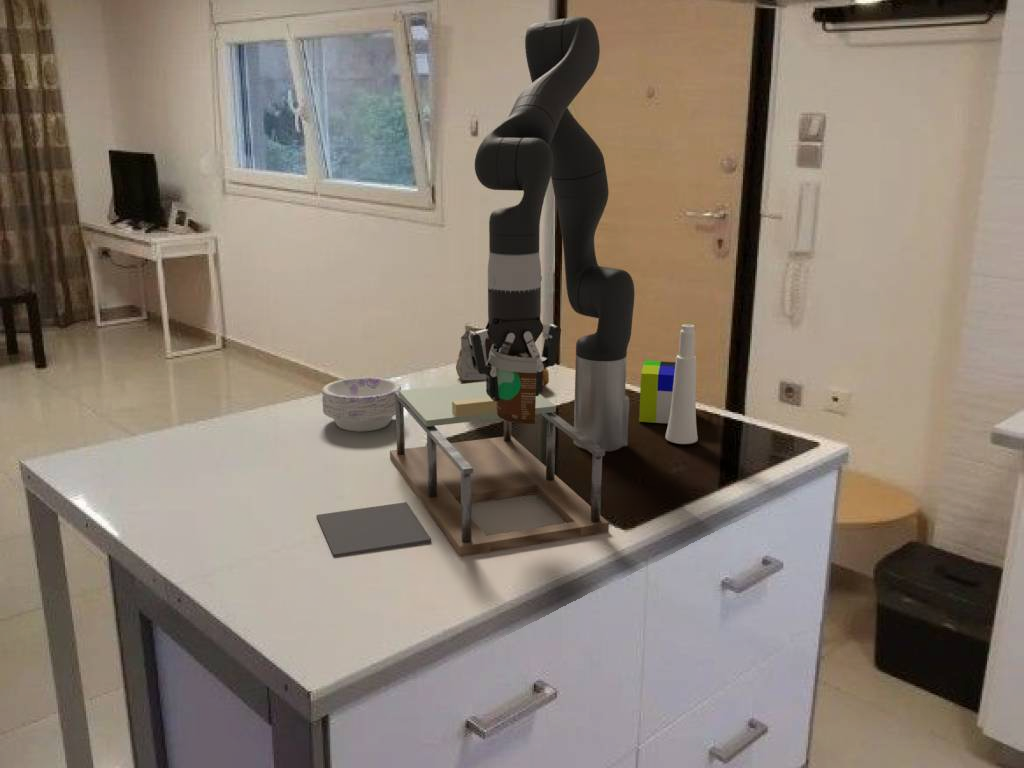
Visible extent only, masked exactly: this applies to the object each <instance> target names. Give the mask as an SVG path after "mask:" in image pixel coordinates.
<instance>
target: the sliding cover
mask: <svg viewBox="0 0 1024 768" xmlns="http://www.w3.org/2000/svg"><path fill="white" fill-rule="evenodd" d="M399 397H400V398H401V399H402V400H403V401H404V402H405V403H406V405H407V406H408V407H409V408H410V409H411V410H412V411H413V412H414V414H415V415H416V416H417V417H418V418H419V419H420V420H421V421H422V423H423V424H424V425H425V426H426V427H429V426H435V427H436V426H444V425H453V424H462V423H470V422H478V421H479V422H480V421H487V420H496V419H501V418H500V417H499V416H498V415H497V403H496V401H493V400H492V399H491V398H490V397H489V396H488V395H487V392H486V382H477V383H467V384H461V383H458V384H448V385H437V386H428V387H427V386H426V387H420V388H418V387H417V388H409V389H401V390H399ZM550 412H554V413H557V406H556V405H555V403H553V402H552V401H550V400H548V398H546V397H544V396H543V395H542V394H541V393H539V396H536V405H535V415H541V414H542V413H550Z"/></svg>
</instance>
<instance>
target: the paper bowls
mask: <svg viewBox="0 0 1024 768" xmlns="http://www.w3.org/2000/svg"><path fill="white" fill-rule="evenodd" d="M399 390H402V387H401V385H400V383H398V382H396V381H394V380H391V379H386V378H381V377H380V378H379V377H354V378H353V377H352V378H346V379H340V380H335V381H332V382H330V383H327V384H326V385H324V386H323V387H322V390H321V393H322V398H321V399H322V400H321V401H322V413H323V414H324V415H325V416H326V417H328V418H331V419H333V421H334V422H335V425H336V426H337V427H339V429H342V430H345V431H348V432H357V433H359V432H361V433H362V432H365V433H366V432H372V431H373V430H374V431H378V430H380V429H383V428H385V427H387V426H388V425H389V424H390V422H391V420H392V418H393V417H394V416H396V408H395V396H394V391H399Z"/></svg>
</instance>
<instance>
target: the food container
mask: <svg viewBox="0 0 1024 768" xmlns="http://www.w3.org/2000/svg"><path fill="white" fill-rule="evenodd" d="M489 363H490V364H491V365H492V366H494V367H496V368H497V376H496V377H497V380H498V394H499V401H496V403H497V415H498V416H499V417H500V418H499V419H501V420H503V421H504V420H506V421H509V422H511V423H516V424H526V425H535V424H536V414H535V405H536V373H537V358H533V357H532V355H531V353H529V351H528V352H526V353H522V354H521V353H515V354H512V355H504V354H501V353H498V352H496V351H495V350H494V348H493V353H492V352H491V356H490V361H489Z"/></svg>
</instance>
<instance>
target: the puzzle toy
mask: <svg viewBox="0 0 1024 768" xmlns="http://www.w3.org/2000/svg"><path fill="white" fill-rule="evenodd" d="M675 364H676V361H662V360H661V361H656V360H644V362H643V366H642V369H641V373H640V390H639V391H640V392H639V412H638V413H639V416H638V422H639V423H652V424H653V423H654V424H667V425H668V422H669V417H670V410H671V402H672V393H673V383H674V373H675Z"/></svg>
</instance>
